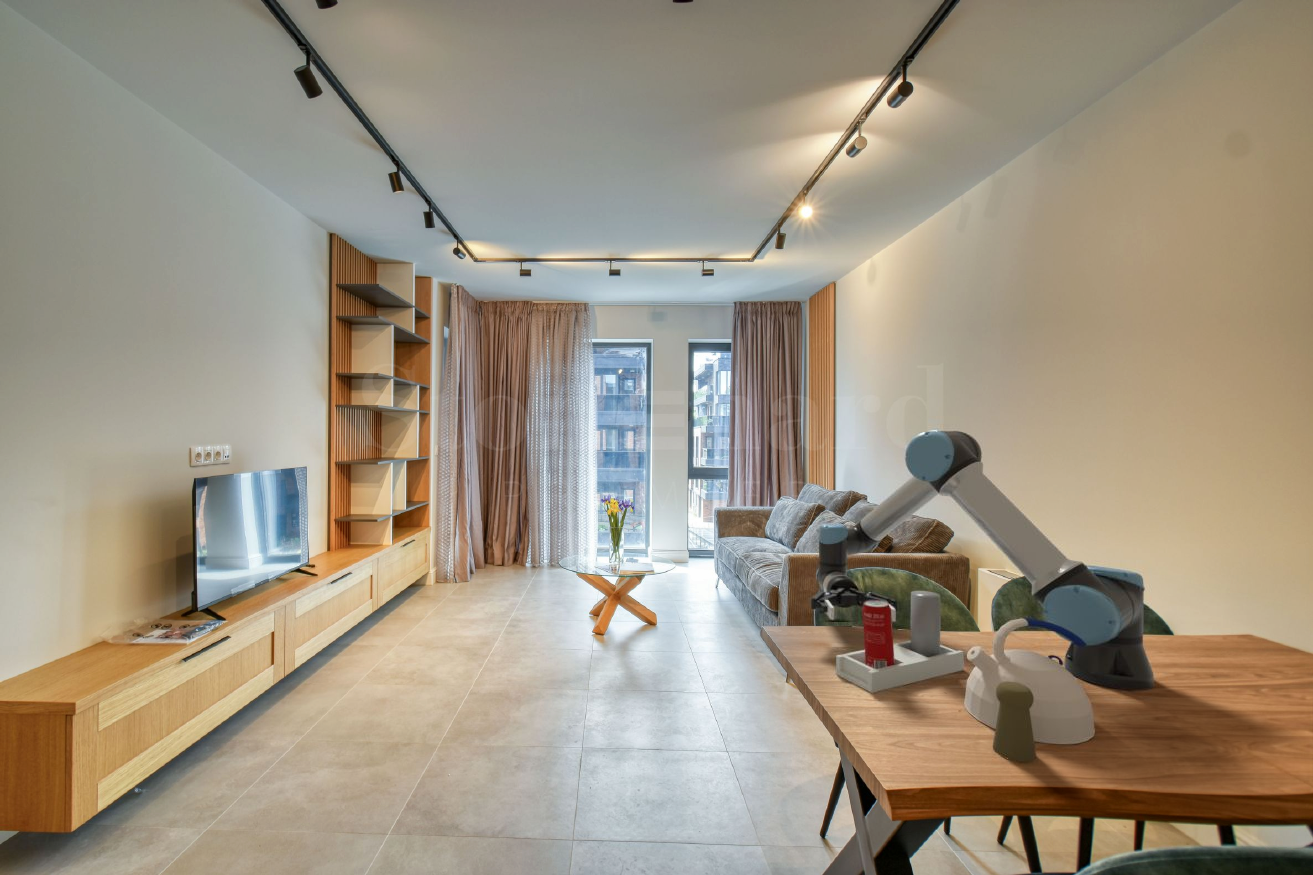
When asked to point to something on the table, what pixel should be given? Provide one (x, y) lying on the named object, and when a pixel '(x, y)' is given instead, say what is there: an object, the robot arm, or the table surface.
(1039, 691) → the kettle
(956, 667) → the can rail
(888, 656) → the beverage can
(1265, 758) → the table surface
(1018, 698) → the cork
